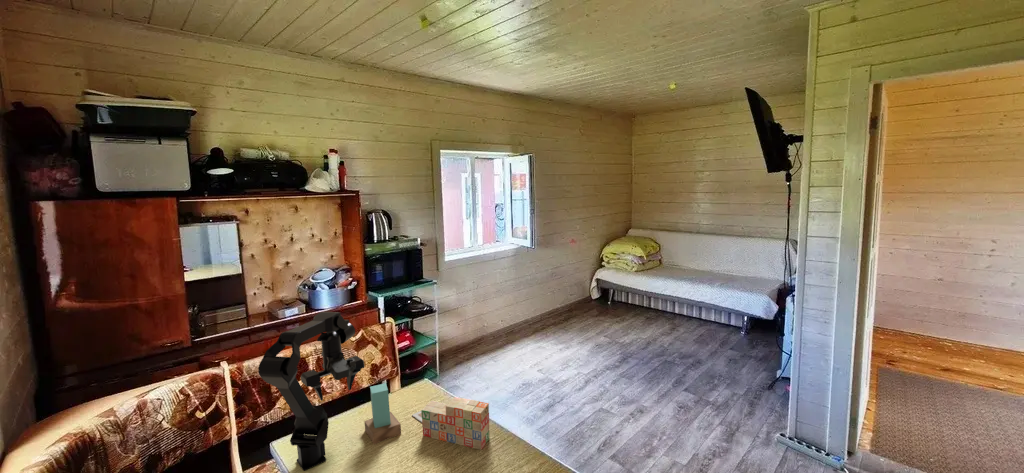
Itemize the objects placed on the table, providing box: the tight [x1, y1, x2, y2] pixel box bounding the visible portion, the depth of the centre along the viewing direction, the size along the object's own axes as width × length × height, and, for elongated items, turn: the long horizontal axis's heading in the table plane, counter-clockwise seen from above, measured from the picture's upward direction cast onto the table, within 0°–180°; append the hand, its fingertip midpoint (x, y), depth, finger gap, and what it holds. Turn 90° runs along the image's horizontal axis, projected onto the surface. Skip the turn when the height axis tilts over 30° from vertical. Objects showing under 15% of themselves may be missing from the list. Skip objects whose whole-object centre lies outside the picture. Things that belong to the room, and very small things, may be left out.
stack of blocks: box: [420, 396, 490, 450], centre depth 137 cm, size 21×6×12 cm, turn 69°
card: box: [411, 410, 422, 424], centre depth 152 cm, size 10×7×1 cm
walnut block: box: [363, 411, 402, 445], centre depth 141 cm, size 9×9×4 cm
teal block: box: [369, 382, 391, 428], centre depth 140 cm, size 5×5×12 cm
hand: (335, 394), depth 140 cm, fingers open, 9 cm apart
